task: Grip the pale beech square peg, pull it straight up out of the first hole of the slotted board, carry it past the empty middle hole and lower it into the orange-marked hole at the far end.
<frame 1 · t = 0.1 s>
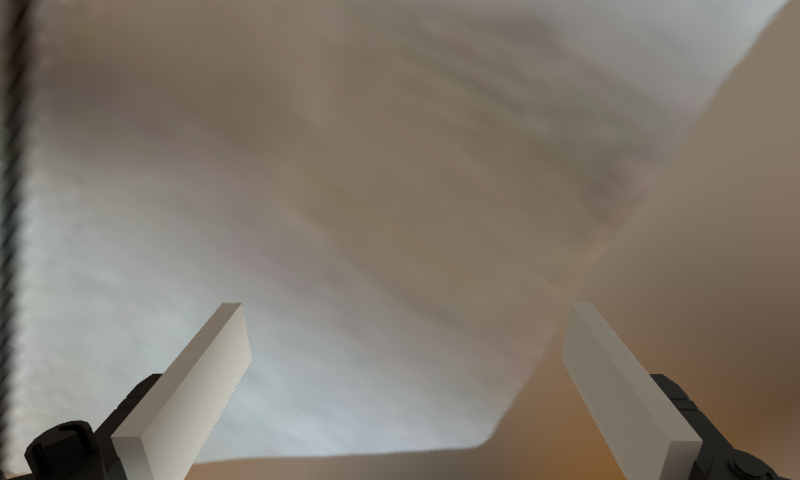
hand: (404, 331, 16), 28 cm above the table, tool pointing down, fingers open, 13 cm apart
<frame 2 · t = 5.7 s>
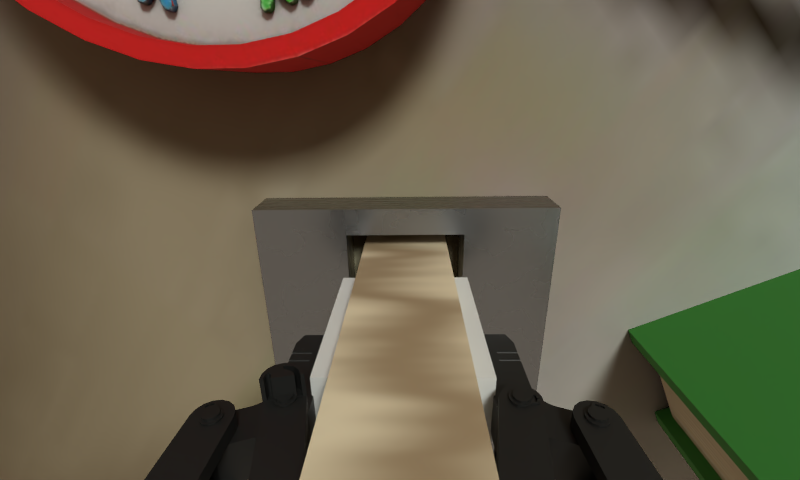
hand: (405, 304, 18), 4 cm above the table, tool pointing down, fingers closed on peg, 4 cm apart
peg: (406, 269, 22), resting in slotted board, touching gripper
slotted board: (407, 382, 25), on the table
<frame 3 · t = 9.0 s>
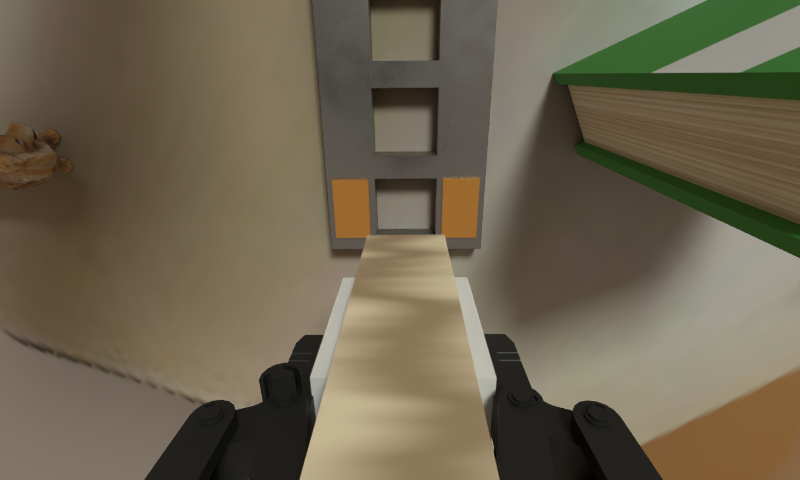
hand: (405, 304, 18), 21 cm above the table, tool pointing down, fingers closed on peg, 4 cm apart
peg: (406, 269, 22), point 18 cm above the table, touching gripper
lion figurine: (30, 142, 38), on the table
hardback book: (667, 68, 34), on the table
slotted board: (405, 120, 36), on the table
when the fingers open (5 cm above the table, at t = 12.4 s): peg stays where it is, resting in slotted board.
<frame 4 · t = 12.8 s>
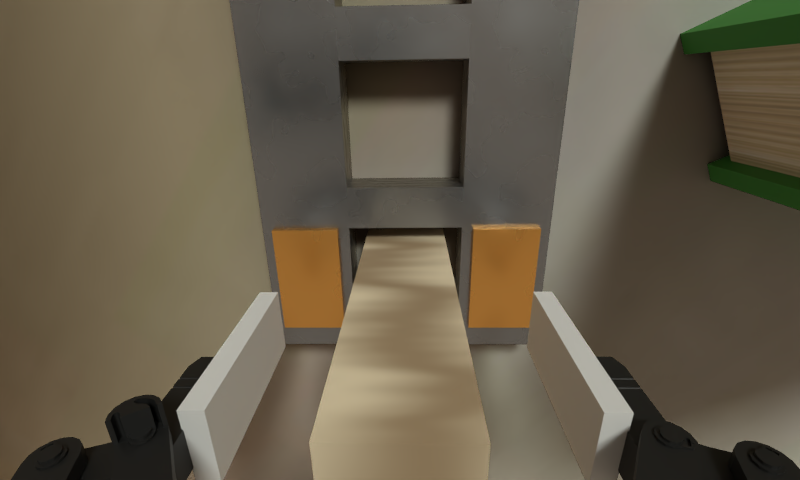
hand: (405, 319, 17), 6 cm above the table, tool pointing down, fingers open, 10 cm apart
peg: (406, 262, 23), resting in slotted board
slotted board: (404, 122, 20), on the table
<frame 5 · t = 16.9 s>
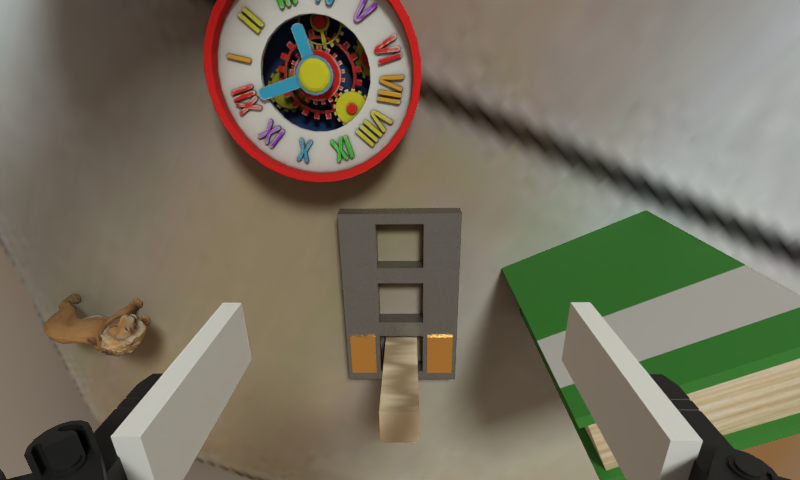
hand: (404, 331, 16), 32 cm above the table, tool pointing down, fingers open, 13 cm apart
peg: (401, 344, 55), resting in slotted board
toy clock: (325, 76, 43), on the table
lion figurine: (121, 305, 54), on the table
hardback book: (579, 265, 50), on the table
slotted board: (401, 295, 52), on the table
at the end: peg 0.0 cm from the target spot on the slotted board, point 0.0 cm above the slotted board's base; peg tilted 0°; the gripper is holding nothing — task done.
